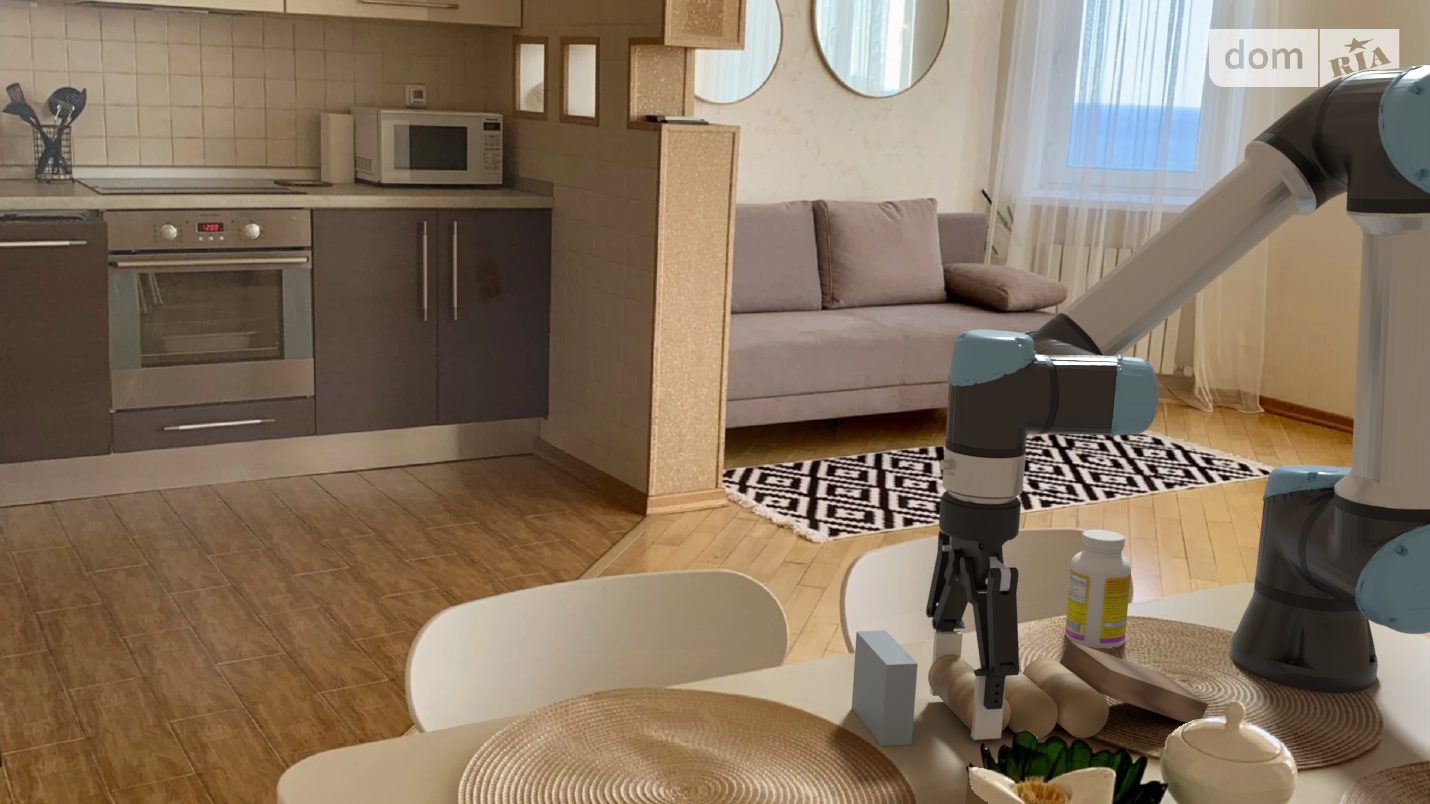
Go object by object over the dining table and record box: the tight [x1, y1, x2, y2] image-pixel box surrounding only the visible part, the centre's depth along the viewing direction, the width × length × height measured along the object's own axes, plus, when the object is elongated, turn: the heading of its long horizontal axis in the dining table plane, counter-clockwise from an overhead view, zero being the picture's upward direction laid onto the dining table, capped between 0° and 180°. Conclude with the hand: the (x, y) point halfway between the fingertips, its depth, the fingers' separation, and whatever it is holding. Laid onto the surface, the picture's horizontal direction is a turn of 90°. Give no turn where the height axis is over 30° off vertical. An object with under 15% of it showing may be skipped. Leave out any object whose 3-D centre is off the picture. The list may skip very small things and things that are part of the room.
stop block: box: [851, 629, 918, 747], centre depth 135 cm, size 3×9×8 cm, turn 12°
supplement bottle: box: [1064, 529, 1132, 649], centre depth 160 cm, size 7×7×13 cm
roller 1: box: [927, 654, 1011, 733], centre depth 137 cm, size 10×4×4 cm, turn 13°
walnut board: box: [1059, 640, 1209, 723], centre depth 141 cm, size 12×8×2 cm, turn 104°
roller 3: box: [1022, 656, 1110, 739], centre depth 139 cm, size 9×5×5 cm, turn 14°
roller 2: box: [978, 666, 1058, 740], centre depth 138 cm, size 9×5×5 cm
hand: (964, 714), depth 138 cm, fingers closed on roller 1, 10 cm apart
